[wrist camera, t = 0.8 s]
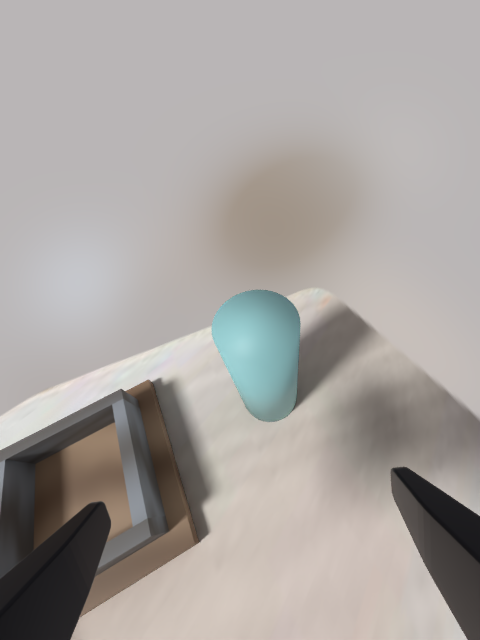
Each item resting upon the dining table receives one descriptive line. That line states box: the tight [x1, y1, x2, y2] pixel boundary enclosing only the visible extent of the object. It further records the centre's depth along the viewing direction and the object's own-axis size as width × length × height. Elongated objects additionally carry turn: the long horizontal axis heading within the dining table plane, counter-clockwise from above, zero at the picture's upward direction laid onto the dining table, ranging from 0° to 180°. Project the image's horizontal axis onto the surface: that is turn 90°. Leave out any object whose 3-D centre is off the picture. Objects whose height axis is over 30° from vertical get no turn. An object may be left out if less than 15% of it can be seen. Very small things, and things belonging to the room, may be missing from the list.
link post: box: [212, 290, 300, 422], centre depth 19 cm, size 5×5×12 cm
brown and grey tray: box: [0, 380, 199, 617], centre depth 20 cm, size 14×14×4 cm
